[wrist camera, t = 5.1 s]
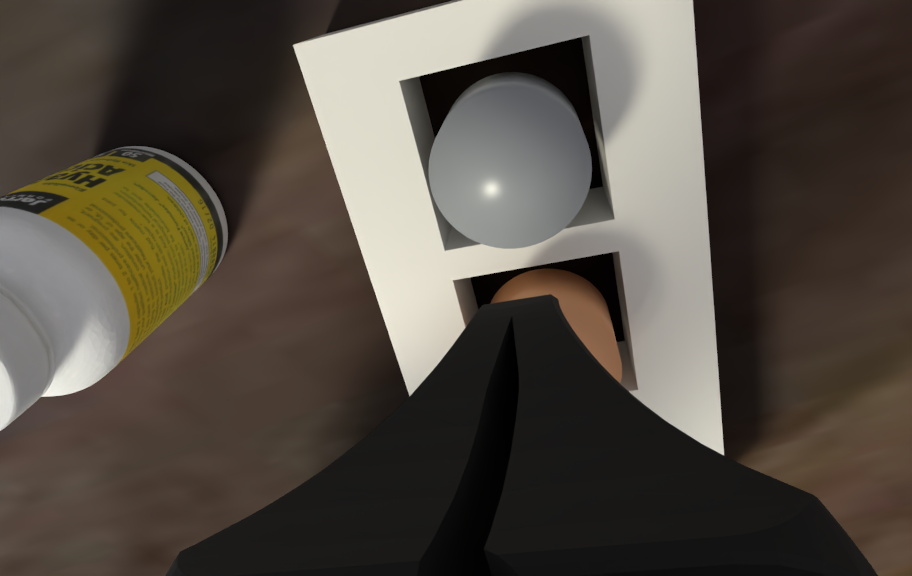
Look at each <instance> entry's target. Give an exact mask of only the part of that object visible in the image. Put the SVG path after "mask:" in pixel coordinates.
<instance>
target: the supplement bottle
mask: <svg viewBox="0 0 912 576" xmlns="http://www.w3.org/2000/svg"><path fill="white" fill-rule="evenodd" d="M227 241H228V227H227V221H226V216H225V213H224V210H223V207H222V205H221V203H220V200H219V199H218V197H217V195H216V193H215V192H214V190H213V189H212V188H211V186H210V185H209V184H208V182H207V181H206V180H205V179H204V178H203V177H202V176H201V175H200V174H199V173H198V172H197V171H196V170H195V169H194V168H193V167H191V166H190V165H189V164H187V163H186V162H184V161H183V160H181V159H180V158H178V157H176V156H174V155H172V154H170V153H168V152H165V151H162V150H159V149H155V148H151V147H145V146H128V147H121V148H117V149H114V150H110V151H107V152H105V153H102V154H100V155H97V156H95V157H93V158H90V159H88V160H85V161H83V162H81V163H79V164H76V165H74V166H72V167H70V168H68V169H65V170H62V171H60V172H58V173H56V174H53V175H51V176H48V177H46V178H44V179H41V180H39V181H37V182H34V183H32V184H30V185H28V186H26V187H23V188H21V189H18V190H16V191H14V192H12V193H9V194H7V195H5V196H2V197H0V431H1V430H2V429H4V428H5V427H7V426H8V425H9V424H10V423H11V422H12V421H14V420H15V419H16V418H17V417H18V416H20V415H21V414H22V413H23V412H24V411H25V410H27V409H28V408H29V407H30V406H31V405H32V404H34V403H35V402H36V401H37V400H38V399H39V398H40V397H41V396H60V395H66V394H71V393H74V392H77V391H80V390H83V389H85V388H87V387H89V386H91V385H93V384H94V383H96V382H97V381H99V380H100V379H101V378H103V377H104V376H105V375H106V374H108V373H109V372H110V371H111V370H112V369H113V368H114V367H115V366H117V365H118V364H119V363H120V362H121V361H122V360H123V359H124V358H125V357H126V356H127V355H128V354H129V353H130V352H131V351H132V350H133V349H134V348H135V347H136V346H138V345H139V344H140V343H141V342H142V341H143V340H144V339H145V338H146V337H147V336H148V335H149V334H150V333H152V332H153V331H154V330H155V329H156V328H157V327H158V326H159V325H160V324H161V323H162V322H163V321H164V320H165V319H166V318H167V317H168V316H169V315H170V314H171V313H173V312H174V311H175V310H176V309H177V308H178V307H179V306H180V305H181V304H182V303H183V302H184V301H185V300H186V299H187V298H188V297H189V296H190V295H192V294H193V293H194V292H195V291H196V290H197V289H198V288H199V287H200V286H201V285H202V284H203V283H204V282H205V281H206V280H207V279H208V278H209V277H210V276H211V275H212V273H213V272H214V271H215V270H216V269H217V267H218V266H219V264H220V263H221V261H222V259H223V257H224V254H225V251H226V247H227Z"/></svg>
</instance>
